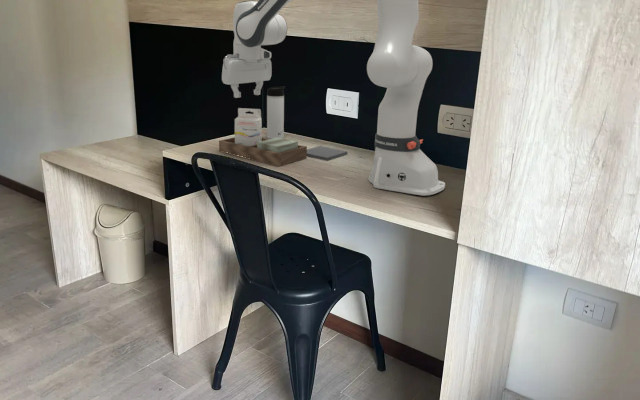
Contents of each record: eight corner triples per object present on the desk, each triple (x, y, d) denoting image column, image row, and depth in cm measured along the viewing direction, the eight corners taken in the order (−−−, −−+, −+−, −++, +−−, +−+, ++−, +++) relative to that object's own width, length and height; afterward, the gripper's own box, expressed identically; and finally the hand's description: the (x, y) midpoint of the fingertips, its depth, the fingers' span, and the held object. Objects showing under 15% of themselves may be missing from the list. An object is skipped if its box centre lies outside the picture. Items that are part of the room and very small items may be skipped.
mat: (347, 154, 193) (347, 151, 193) (327, 160, 184) (327, 157, 184) (319, 148, 200) (319, 145, 199) (298, 154, 191) (298, 151, 190)
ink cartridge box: (234, 153, 190) (233, 110, 185) (237, 149, 195) (237, 107, 190) (259, 154, 189) (258, 111, 185) (262, 151, 194) (261, 108, 189)
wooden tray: (306, 158, 186) (306, 146, 185) (279, 166, 176) (279, 154, 174) (247, 145, 201) (247, 134, 200) (219, 152, 191) (218, 140, 189)
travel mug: (283, 141, 209) (284, 87, 202) (266, 141, 209) (266, 87, 202) (285, 138, 214) (285, 85, 208) (268, 137, 215) (268, 85, 208)
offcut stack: (299, 158, 186) (299, 141, 184) (279, 165, 178) (279, 147, 176) (275, 153, 192) (275, 136, 190) (254, 160, 183) (254, 142, 181)
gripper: (231, 55, 172) (231, 100, 176) (274, 52, 187) (274, 94, 192) (216, 53, 175) (217, 98, 180) (260, 51, 191) (260, 92, 195)
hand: (247, 96), depth 186 cm, fingers open, 8 cm apart
